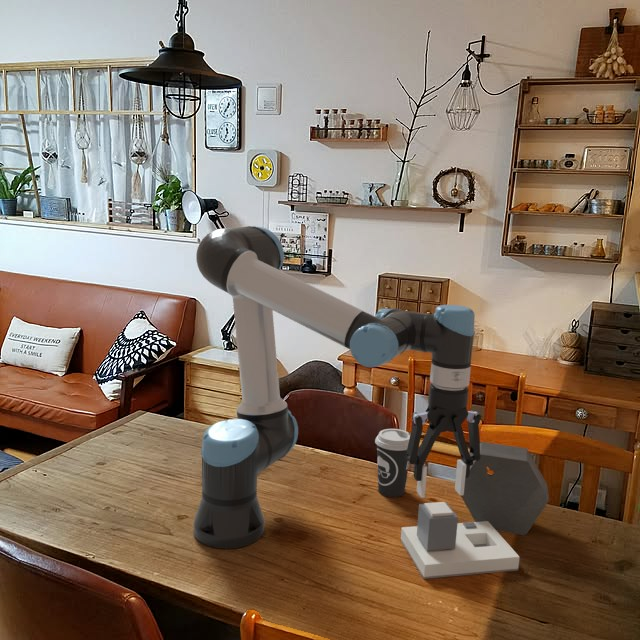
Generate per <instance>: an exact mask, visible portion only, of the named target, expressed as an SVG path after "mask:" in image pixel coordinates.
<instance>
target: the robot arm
mask: <svg viewBox="0 0 640 640" xmlns="http://www.w3.org/2000/svg"><path fill="white" fill-rule="evenodd" d="M284 260H285V251H284V247H283V245H282V242H281V240H280V239H279V237H278V236H277V235H276V234H275V233H274V232H273V231H271V230H269V229H267V228H266V227H263V226H261V227H260V226H254V225H253V226H252V225H251V226H249V225H247V226H243V227H242V226H240V227H229V228H227V227H226V228H225V227H224V228H218V229H214V230H212V231H211V232H209V233H207V234H206V235H205V236H204V237H203V238H201V241H200V242H199V244H198V247H197V249H196V265H197V268H198V270H199V272H200V274H201V275H202V277H204V279H205V280H207V282H209V283H210V284H211V285H213V286H214V287H216V288H218V289H220V290H221V291H224V292H225V293H228V295H230V296H231V297H232V302H233V303H232V304H233V315H234V325H235V335H236V346H237V357H238V367H239V379H240V387H241V389H240V390H241V400H242V401H241V402H240V403H239V405H237V407H236V418H229V419H227V420H220V421H217V422H215V423H213V424H212V425H210V426H209V427H208V428H207V429H206V430H205V431H204V434H203V436H202V446H201V450H200V453H201V454H200V455H201V499H200V501H199V506H198V508H197V510H196V514H195V517H194V520H193V535H194V537H195V539H196V540H197V541H199V542H200V544H203V545H205V546H208V547H211V548H215V549H223V550H224V549H227V550H228V549H229V550H231V549H236V548H243V547H246V546H249V545H251V544H253V543H255V542H257V541H258V540H260V538H261V537H262V536H263V535H264V532H265V517H264V514H263V512H262V509H261V505H260V501H259V499H258V490H257V489H258V475H259V474H260V473H262V472H263V471H265V470H266V469H267V468H269V467H270V466H272V465H273V464H274V463H276V462H278V461H280V460H282V459H283V458H285V457H286V455H288V454H289V452H290V451H292V450H293V448H294V447H295V445H296V443H297V441H298V435H299V426H298V421H297V420H296V418H295V416H293V415H292V412H291V410H289V408H288V403H287V402H286V401H285V400H284V399H283V398H281V396H280V394H281V393H280V383H279V370H278V361H277V347H276V337H275V336H276V335H275V326H274V325H275V322H274V313H273V311H274V312H276V313H278V314H279V315H281V316H284V317H285V318H288V319H289V320H291V321H293V322H295V323H297V324H299V325H301V326H303V327H305V328H307V329H309V330H311V331H313V332H314V333H316V334H318V335H320V336H322V337H324V338H327V340H330V341H332V342H335V343H336V344H338V345H340V346H343V347H344V348H345V349H348V350H350V353H351V355H352V357H353V358H354V360H355V361H356V362H357V363H358V364H359V365H361V366H363V367H366V368H376V367H379V366H382V365H385V364H388V363H389V362H391V361H393V359H394V358H395V357H397V356H400V355H401V354H403V353H405V352H407V351H416V352H423V353H431V364H430V374H429V375H430V376H429V382H430V384H429V387H428V388H429V389H428V402H427V403H428V405H427V408H426V410H425V411H424V412H421V413H418V412H413V413H412V414H411V420H412V421H411V422H412V426H411V430H410V439H409V443H408V448H407V452H406V459H407V460H408V461H409V465H413V478H414V479H415V481H416V493H417V494H418V496H419V497H420V499H425V498H426V486H427V473H428V466H427V465H426V464H425V463H426V460H428V457H429V456H430V455H429V454H430V452H431V451H432V448H433V446H434V445H435V442H436V440H437V438H439V437H440V435H441V433H446V432H449V433H453V437H454V439H455V442H456V445H457V448H458V452H459V455H460V458H461V459H457V461H456V473H455V481H454V482H455V485H454V490H455V491H456V493H458V495H459V496H460V495H464V486H465V478H468V477H469V473H470V466H472V465H473V461H475V460H476V461H479V460H480V443H481V442H480V441H481V439H480V423H481V419H482V415H481V414H480V413H479V412H478V411H476V410H475V409H474V410H468V408H467V406H468V404H469V403H468V402H469V388H468V387H469V386H470V378H471V368H472V367H471V365H472V355H473V347H474V346H473V345H474V339H475V338H474V337H475V334H476V333H475V311H474V310H473V309H471V308H470V307H468V306H464V305H460V304H442V305H441V304H440V305H438V306H436V308H435V312H434V313H426V312H425V313H424V312H416V311H411V310H402V309H399V308H380V309H379V310H377V311H376V314H375V315H373V314H370V313H368V312H366V311H364V310H362V309H360V308H359V307H356V306H354V305H352V304H350V303H348V302H346V301H344V300H341V299H340V298H339V297H338V298H337V297H335V296H333V295H332V294H330V293H328V292H325V291H323V290H322V289H320V288H318V287H315V286H313V285H311V284H309V283H307V282H305V281H303V280H301V279H299V278H296V277H294V276H292V275H290V274H289V273H286V272H284V271H282V270H281V267H283V264H284ZM427 420H428V421H429V423H428V425H427V429H426V433H425V434H424V437H423V439H421V438H422V435H423V430H424V429H423V428H424V426H425V424H426V421H427ZM465 421H467V422H468V423H467V427H468V428H467V430H468V444H467V442H466V438H465V435H464V434H465V433H464V429H463V427H462V424H463V423H464V422H465ZM421 440H422V441H421ZM420 442H421V443H420ZM468 446H469V447H468Z"/></svg>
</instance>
